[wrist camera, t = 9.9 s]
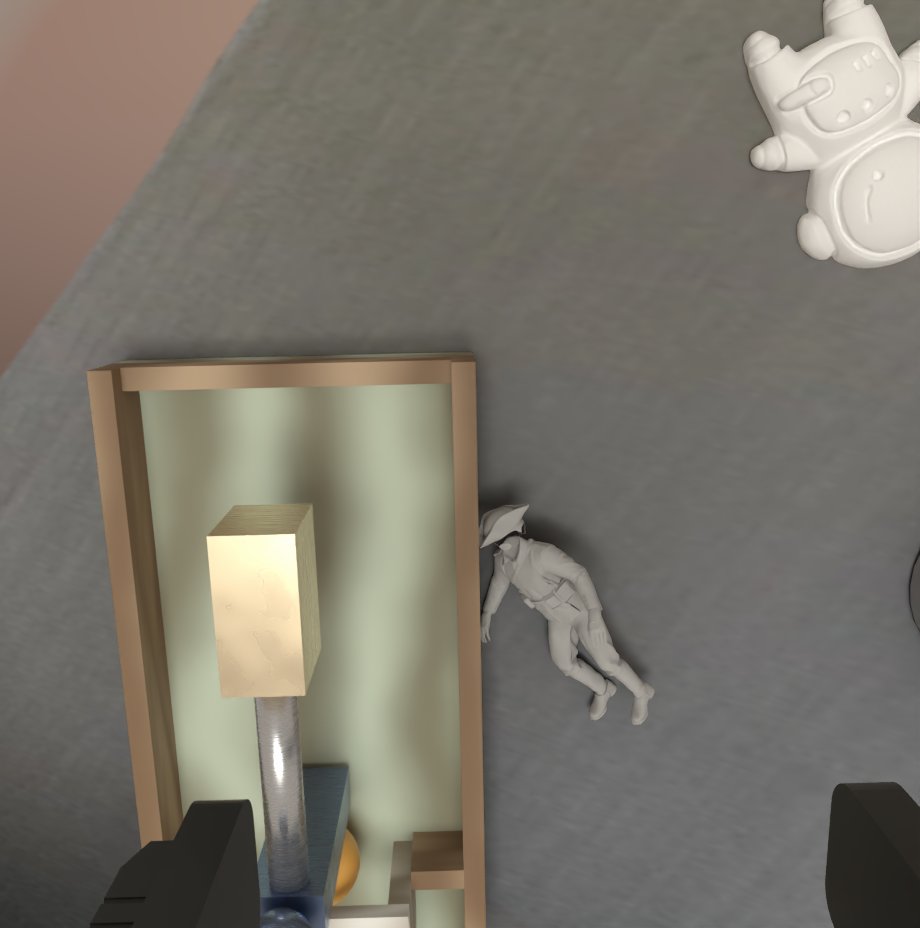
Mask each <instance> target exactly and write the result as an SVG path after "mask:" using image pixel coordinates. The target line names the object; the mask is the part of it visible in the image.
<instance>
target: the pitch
mask: <svg viewBox="0 0 920 928" xmlns="http://www.w3.org/2000/svg"><path fill="white" fill-rule="evenodd" d="M87 379H88V387H89V396H90V404H91V413H92V422H93V430H94V439H95V448H96V456H97V465H98V474H99V482H100V491H101V500H102V508H103V517H104V526H105V534H106V543H107V551H108V560H109V569H110V577H111V586H112V595H113V603H114V612H115V621H116V629H117V638H118V647H119V655H120V664H121V673H122V681H123V690H124V698H125V707H126V716H127V724H128V733H129V742H130V750H131V759H132V768H133V776H134V785H135V794H136V802H137V811H138V820H139V828H140V837H141V845H142V848H143V847H145V846H146V845H147V844H148V843H149V842H150V841H169V840H174V838H175V836H176V834H177V832H178V830H179V828H180V826H181V824H182V821H183V819H184V817H185V815H186V813H187V811H188V809H189V807H190V805H191V804H192V803H193V802H194V801H198V800H233V799H249V800H250V802H251V805H252V809H253V816H254V828H255V840H256V852H257V863H258V860H259V857H260V853H261V850H262V847H263V844H264V841H265V826H264V813H263V801H262V788H261V776H260V764H259V751H258V739H257V726H256V714H255V701H254V697H244V698H221V693H220V682H219V671H218V660H217V649H216V638H215V626H214V615H213V604H212V593H211V582H210V570H209V559H208V548H207V537H206V536H207V535H208V534H209V533H210V532H211V531H212V530H213V529H214V528H215V526H216V525H217V524H218V523H219V522H220V521H221V520H222V519H223V518H224V516H225V515H226V514H227V513H228V512H229V511H230V510H231V509H232V507H233V506H234V505H272V504H311V503H312V506H313V523H314V539H315V555H316V572H317V588H318V604H319V621H320V637H321V650H320V653H319V656H318V659H317V662H316V665H315V668H314V671H313V674H312V677H311V681H310V684H309V687H308V690H307V693H306V696H297V699H298V713H299V728H300V742H301V757H302V768H330V767H349V780H350V798H351V805H350V810H349V816H348V822H347V827H346V829H347V830H349V832H350V833H351V834H352V835H353V837H354V839H355V841H356V843H357V845H358V849H359V853H360V869H359V874H358V877H357V880H356V882H355V884H354V886H353V888H352V889H351V891H350V892H349V893H348V895H347V896H346V897H345V898H344V899H342V900H341V901H340V902H338V903H337V904H335V905H333V906H332V911H331V917H330V922H329V928H486V908H485V853H484V798H483V744H482V689H481V634H480V579H479V525H478V470H477V415H476V362H475V359H474V355H473V352H442V353H400V354H358V355H315V356H273V357H231V358H189V359H147V360H124V361H121V362H117V363H113V364H110V365H106V366H103V367H99V368H96V369H92V370H89V371H87Z"/></svg>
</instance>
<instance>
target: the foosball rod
mask: <svg viewBox="0 0 920 928" xmlns="http://www.w3.org/2000/svg"><path fill="white" fill-rule="evenodd" d="M206 537H207V548H208V559H209V570H210V582H211V593H212V604H213V615H214V626H215V638H216V649H217V660H218V671H219V682H220V693H221V698H244V697H254V701H255V714H256V726H257V739H258V751H259V764H260V776H261V788H262V801H263V813H264V826H265V841H264V844H263V847H262V850H261V853H260V857H259V860H258V863H257V864H258V876H259V888H260V925H259V928H329V922H330V917H331V911H332V906H333V900H334V894H335V889H336V883H337V878H338V872H339V866H340V861H341V855H342V850H343V844H344V838H345V833H346V827H347V822H348V816H349V810H350V805H351V798H350V780H349V767H330V768H302V757H301V742H300V728H299V713H298V699H297V696H306V693H307V690H308V687H309V684H310V681H311V677H312V674H313V671H314V668H315V665H316V662H317V659H318V656H319V653H320V650H321V637H320V621H319V604H318V588H317V572H316V555H315V539H314V523H313V506H312V503H311V504H272V505H234V506H233V507H232V509H231V510H230V511H229V512H228V513H227V514H226V515H225V516H224V518H223V519H222V520H221V521H220V522H219V523H218V524H217V525H216V526H215V528H214V529H213V530H212V531H211V532H210V533H209V534H208V535H207V536H206Z"/></svg>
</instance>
